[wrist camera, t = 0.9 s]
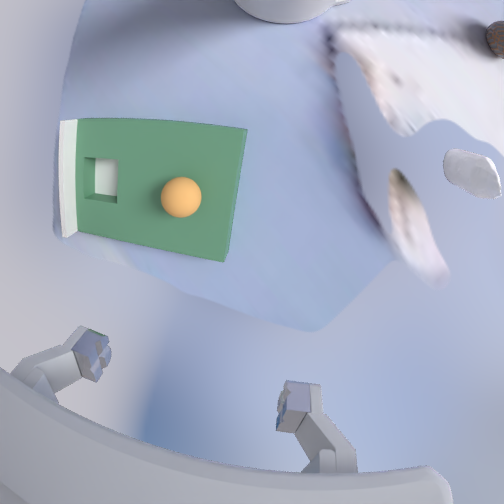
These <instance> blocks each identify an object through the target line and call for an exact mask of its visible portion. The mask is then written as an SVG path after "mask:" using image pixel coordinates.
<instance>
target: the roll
mask: <svg viewBox="0 0 504 504" xmlns="http://www.w3.org/2000/svg"><path fill="white" fill-rule="evenodd" d="M443 162H444V164H443V168H444V174H445V176H446V178H447V180H448V181H449V182H451V183H452V184H454V185H456V186H458V187H460V188H462V189H463V190H465V191H467V192H468V193H470V194H472V195H473V196H475V197H478V198H483V199H495V198H497V197H499V196H501V191H500V190H501V184H500V178H499V176H498V174H497V171H496V168H495V165H494V163H493V162H492V160H491V159H490V158H488V157H485V156H482V155H479V154H475V153H472V152H468V151H464V150H460V149H451V150H449V151H448V152H447V153H446V155H445V157H444V161H443Z"/></svg>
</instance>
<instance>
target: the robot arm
mask: <svg viewBox="0 0 504 504" xmlns="http://www.w3.org/2000/svg"><path fill="white" fill-rule="evenodd" d="M350 1H351V0H235V2H236V3H237V4H238V6H239V7H240V8H242V9H243V10H244V11H245V12H247V13H248V14H250V15H252V16H254V17H256V18H259V19H262V20H265V21H269V22H274V23H299V22H304V21H307V20H311V19H313V18H315V17H317V16H319V15H321V14H322V13H324V12H325V11H326V10H328V9H329V8H331V7H332V6H335V5H340V4H345V3H348V2H350ZM108 343H109V339H108V336H106V335H103V334H100V333H98V332H96V331H93V330H91V329H88V328H86V327H83V326H79V327H78V328H77V329H76V330H75V331H74V332H73V333H72V335H71V336H70V337H69V338H68V339H67V341H66V342H65V343H64V344H63V345H62V346H61V345H58V346H56V347H53V348H50V349H47V350H45V351H42V352H39V353H37V354H34V355H31V356H28V357H26V358H23V359H22V360H21V362H20V363H19V364H18V365H17V366H16V367H15V369H14V370H13V371H12V372H11V373H10V374H9V373H8V372H6V371H5V370H4V369H2V368H1V367H0V504H453V498H452V492H451V488H450V485H449V483H448V482H447V481H446V480H445V479H444V478H443V477H442V476H441V475H440V474H439V473H438V472H437V471H436V470H434V469H433V468H432V467H430V466H427V465H426V466H417V467H411V468H404V469H397V470H388V471H378V472H363V473H358V469H357V459H356V450H355V448H354V447H353V446H352V445H351V443H350V442H349V441H348V440H347V439H346V437H345V436H344V435H343V434H342V433H341V431H340V430H339V429H338V428H337V427H336V425H335V424H334V423H333V422H332V420H331V419H330V418H329V417H328V416H327V415H326V414H323V403H322V391H321V385H320V384H312V383H304V382H296V381H288V380H286V382H285V384H284V390H283V391H281V393H280V396H279V400H278V407H277V411H278V413H279V415H278V417H277V421H276V431H281V432H288V433H295V436H296V438H297V439H298V441H299V443H300V445H301V446H302V448H303V450H304V451H305V453H306V455H307V456H308V458H309V460H310V463H309V464H308V465H307V466H306V467H305V468H304V469H303V470H302V471H301V473H297V472H283V471H273V470H264V469H257V468H249V467H243V466H237V465H231V464H226V463H220V462H215V461H210V460H206V459H202V458H198V457H194V456H190V455H186V454H182V453H178V452H175V451H171V450H168V449H165V448H161V447H158V446H155V445H152V444H149V443H146V442H143V441H140V440H137V439H135V438H132V437H129V436H127V435H124V434H121V433H119V432H116V431H114V430H112V429H109V428H106V427H104V426H102V425H100V424H98V423H95V422H93V421H91V420H89V419H87V418H85V417H82V416H80V415H78V414H76V413H74V412H72V411H71V410H68V409H67V408H65V407H63V406H61V405H59V402H58V400H57V398H56V396H55V394H54V393H56V392H58V391H60V390H62V389H63V388H65V387H67V386H69V385H70V384H72V383H74V382H75V381H77V380H79V379H81V378H82V377H84V378H86V379H89V380H91V381H93V382H97V381H98V380H99V378H100V377H101V375H102V373H103V372H102V369H103V368H105V367H107V366H108V364H109V362H110V359H111V348H110V347H109V346H108V345H107V344H108Z"/></svg>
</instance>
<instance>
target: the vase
mask: <svg viewBox="0 0 504 504" xmlns="http://www.w3.org/2000/svg"><path fill="white" fill-rule="evenodd" d="M486 36H487V41H488V44H489V46H490V48H491V49H492V50H493V51H494V53H495V54H496V55H498V56H499V57H501V58H502V59H504V21H497V22H494V23H492V24H491V25H490V26H489V27H488V29H487V33H486Z"/></svg>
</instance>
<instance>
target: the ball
mask: <svg viewBox="0 0 504 504" xmlns="http://www.w3.org/2000/svg"><path fill="white" fill-rule="evenodd" d="M201 197H202V196H201V191H200V188H199V186H198V185H197V183H196V182H194V181H193V180H192V179H190V178H187V177H176V178H174V179H172V180H170V181H169V182H167V183H166V185H165V186H164V188H163V190H162V193H161V203H162V206H163V208H164V209H165V211H166V212H167V213H169V214H170V215H172V216H174V217H178V218H183V217H187V216H190V215H192V214H193V213H194V212H195V211H196V210H197V209H198V207H199V206H200V203H201Z"/></svg>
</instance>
